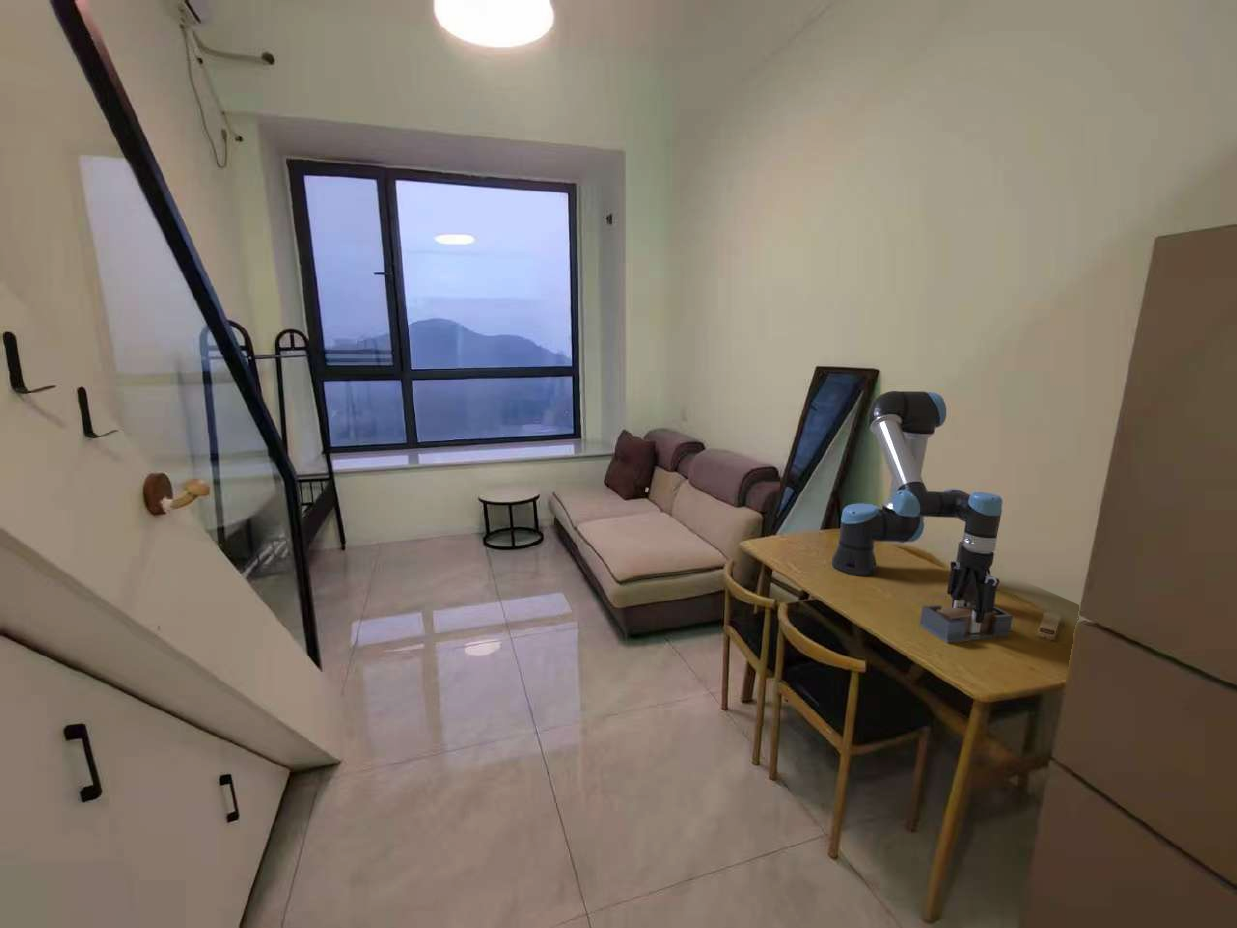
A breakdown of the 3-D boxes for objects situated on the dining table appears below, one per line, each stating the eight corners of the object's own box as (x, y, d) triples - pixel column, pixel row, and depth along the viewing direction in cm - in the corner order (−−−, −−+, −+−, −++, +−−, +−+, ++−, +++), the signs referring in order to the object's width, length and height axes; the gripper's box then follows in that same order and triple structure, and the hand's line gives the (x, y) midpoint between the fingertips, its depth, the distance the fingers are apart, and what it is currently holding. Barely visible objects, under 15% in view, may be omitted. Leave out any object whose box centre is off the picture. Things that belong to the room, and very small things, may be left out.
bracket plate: (919, 624, 153) (921, 605, 152) (979, 618, 158) (982, 599, 156) (947, 643, 143) (950, 622, 142) (1010, 635, 148) (1013, 616, 147)
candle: (963, 608, 164) (974, 547, 160) (943, 598, 171) (953, 539, 166) (983, 606, 166) (993, 545, 162) (962, 595, 173) (972, 537, 168)
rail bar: (934, 626, 150) (936, 609, 149) (978, 620, 155) (981, 604, 154) (949, 635, 146) (951, 618, 145) (994, 628, 150) (997, 612, 149)
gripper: (939, 538, 153) (928, 612, 158) (996, 562, 136) (982, 644, 140) (961, 537, 155) (949, 610, 160) (1020, 560, 138) (1005, 642, 142)
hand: (965, 626), depth 150 cm, fingers open, 5 cm apart
